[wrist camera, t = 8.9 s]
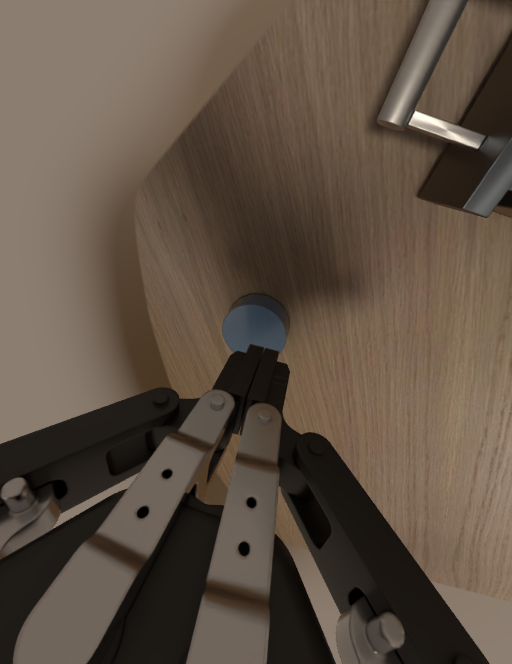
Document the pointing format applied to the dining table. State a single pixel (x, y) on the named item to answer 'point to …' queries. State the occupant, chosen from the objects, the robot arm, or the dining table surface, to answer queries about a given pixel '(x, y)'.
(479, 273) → the dining table surface
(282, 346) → the cylinder
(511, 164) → the drawer
